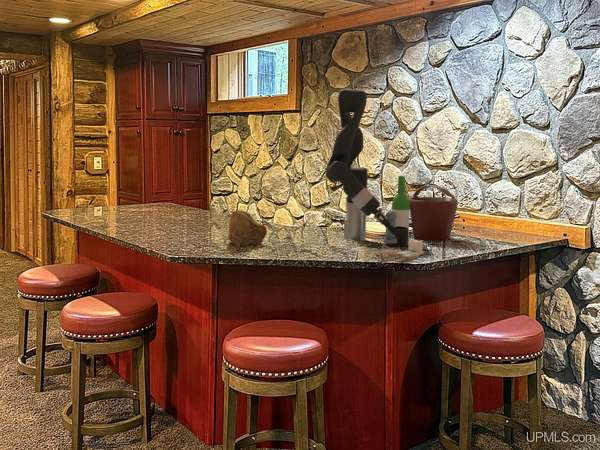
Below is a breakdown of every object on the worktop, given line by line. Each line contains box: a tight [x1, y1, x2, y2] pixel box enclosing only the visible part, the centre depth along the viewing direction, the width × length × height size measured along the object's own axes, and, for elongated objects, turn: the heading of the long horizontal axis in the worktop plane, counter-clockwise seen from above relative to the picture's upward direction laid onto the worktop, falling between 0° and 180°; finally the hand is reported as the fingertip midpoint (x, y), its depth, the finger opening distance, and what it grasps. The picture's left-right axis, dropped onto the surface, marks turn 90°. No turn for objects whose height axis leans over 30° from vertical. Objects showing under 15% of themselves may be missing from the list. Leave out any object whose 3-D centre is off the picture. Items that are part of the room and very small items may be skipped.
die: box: [407, 239, 424, 256], centre depth 267 cm, size 5×5×5 cm
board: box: [349, 246, 420, 262], centre depth 262 cm, size 27×11×2 cm, turn 57°
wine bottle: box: [391, 175, 410, 242], centre depth 289 cm, size 8×8×30 cm
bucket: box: [408, 184, 458, 242], centre depth 306 cm, size 24×22×25 cm
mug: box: [384, 226, 409, 248], centre depth 278 cm, size 9×12×9 cm
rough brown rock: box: [227, 209, 268, 247], centre depth 285 cm, size 23×17×15 cm
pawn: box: [383, 210, 397, 244], centre depth 259 cm, size 5×5×13 cm
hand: (395, 232), depth 259 cm, fingers closed on pawn, 3 cm apart
